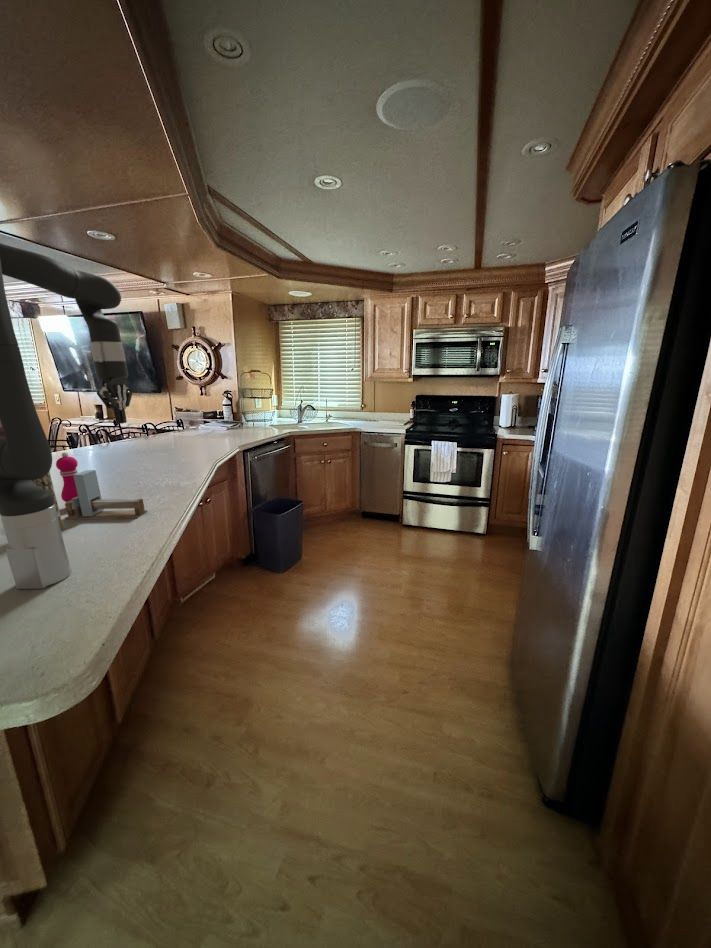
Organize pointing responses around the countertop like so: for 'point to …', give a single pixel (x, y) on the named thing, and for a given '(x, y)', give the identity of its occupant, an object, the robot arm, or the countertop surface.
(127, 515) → the rail
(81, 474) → the light blue block
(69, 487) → the pepper mill
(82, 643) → the countertop surface
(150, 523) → the countertop surface
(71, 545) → the countertop surface
